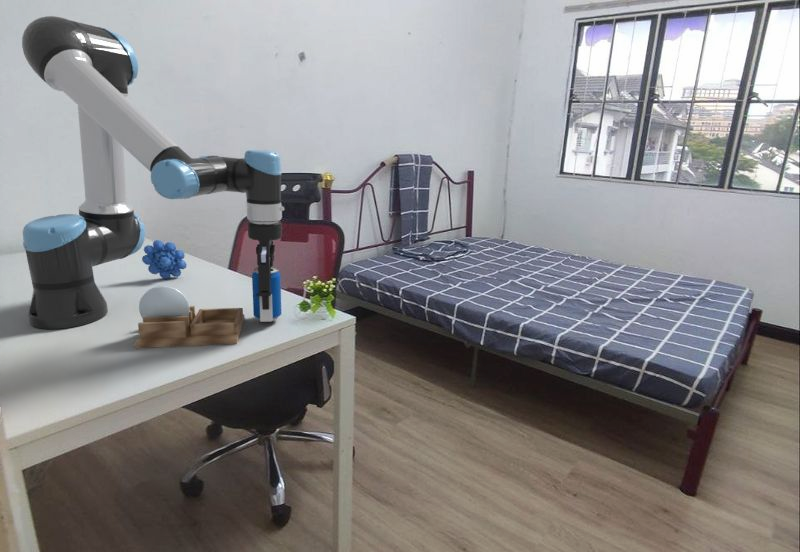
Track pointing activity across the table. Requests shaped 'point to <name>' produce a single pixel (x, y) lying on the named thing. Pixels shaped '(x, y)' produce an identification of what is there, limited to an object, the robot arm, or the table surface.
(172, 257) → the blue bumpy lump
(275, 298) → the beverage can
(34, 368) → the table surface
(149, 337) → the wooden holder tray
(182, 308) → the pale blue plate
